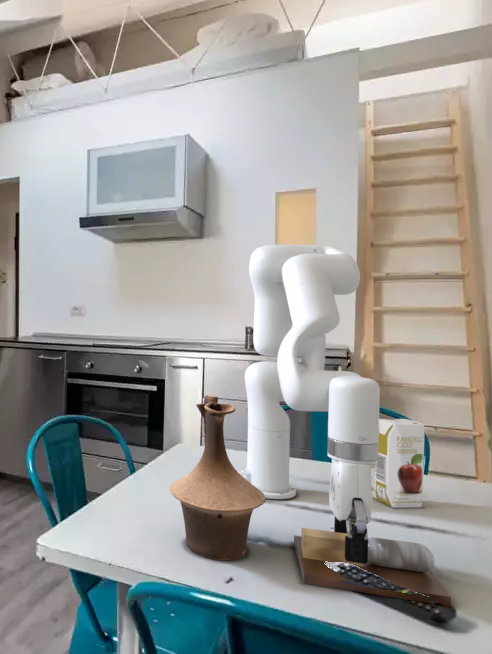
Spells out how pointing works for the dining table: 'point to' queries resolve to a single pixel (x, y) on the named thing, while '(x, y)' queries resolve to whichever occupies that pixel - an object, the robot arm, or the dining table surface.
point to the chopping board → (412, 580)
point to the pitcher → (216, 494)
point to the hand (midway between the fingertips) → (349, 549)
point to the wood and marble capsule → (379, 551)
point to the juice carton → (400, 463)
